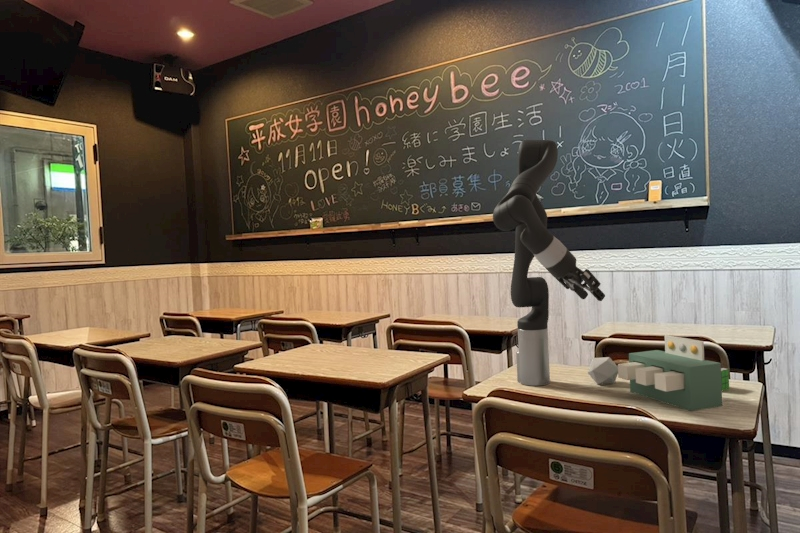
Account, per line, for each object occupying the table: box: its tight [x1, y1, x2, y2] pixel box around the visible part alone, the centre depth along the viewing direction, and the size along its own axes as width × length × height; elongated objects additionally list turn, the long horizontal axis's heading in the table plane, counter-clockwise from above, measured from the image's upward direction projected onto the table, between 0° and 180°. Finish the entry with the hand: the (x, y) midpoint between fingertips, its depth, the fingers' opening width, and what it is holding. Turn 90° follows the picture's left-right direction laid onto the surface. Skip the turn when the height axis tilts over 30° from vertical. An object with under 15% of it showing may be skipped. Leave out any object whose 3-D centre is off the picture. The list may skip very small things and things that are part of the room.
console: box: [628, 334, 723, 412], centre depth 152 cm, size 22×10×16 cm, turn 17°
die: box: [587, 356, 618, 386], centre depth 172 cm, size 8×9×10 cm
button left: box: [617, 362, 645, 381], centre depth 156 cm, size 4×6×4 cm, turn 107°
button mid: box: [635, 366, 664, 386], centre depth 150 cm, size 4×6×4 cm, turn 107°
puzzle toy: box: [721, 367, 730, 391], centre depth 160 cm, size 6×6×6 cm
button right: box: [654, 371, 685, 392], centre depth 143 cm, size 4×6×4 cm, turn 107°
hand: (593, 297), depth 151 cm, fingers open, 6 cm apart
